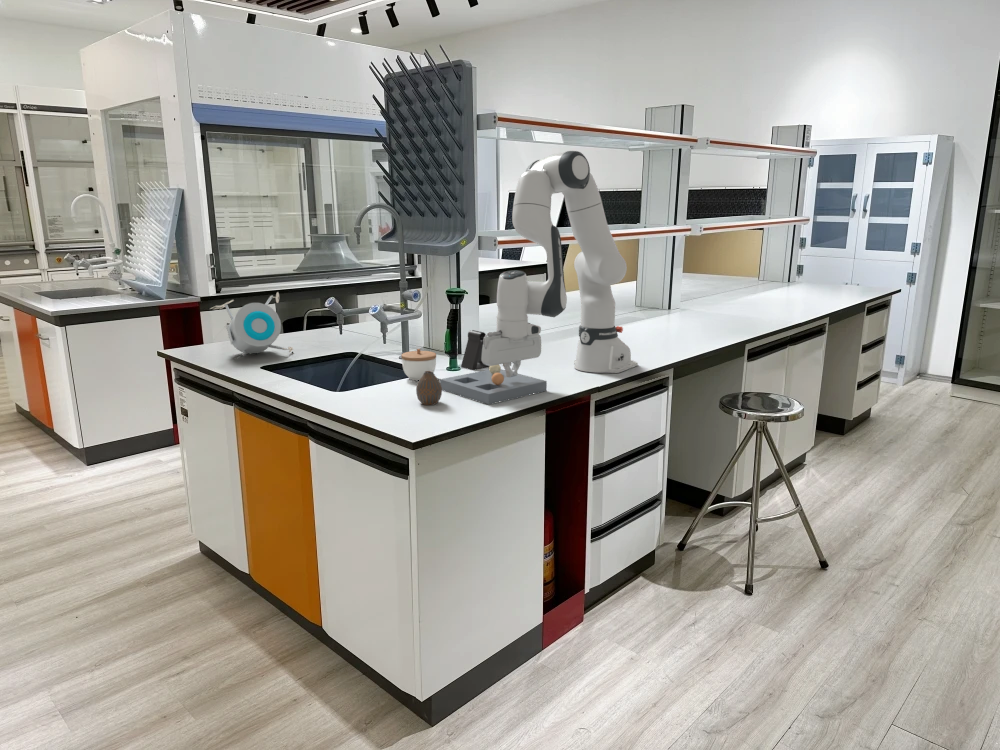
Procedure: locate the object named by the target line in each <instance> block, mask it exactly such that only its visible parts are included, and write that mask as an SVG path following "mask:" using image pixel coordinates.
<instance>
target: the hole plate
mask: <svg viewBox="0 0 1000 750" xmlns="http://www.w3.org/2000/svg"><path fill="white" fill-rule="evenodd" d="M499 373H501V374H502V375H503V377H504V381H503V383H502V384H500V385H495V384H494V383H493V382H492V376H493V374H491V373H490V371H489V369H486V370H480V371H476V372H475V371H474V372H471V373H465V374H460V375H454V376H450V377H445V378H440V379H439V381H440V384H441V387H442V391H444V390H445V392H447V391H448V393H450V392H451V394H454V393H455V394H454V395H457V394H458V395H457V396H460V395H461V396H460V397H463V396H464V397H463V398H466V397H467V398H466V399H469V398H471V399H470V400H472V399H474V400H473V401H475V400H477V401H476V402H478V401H480V402H479V403H481V402H483V403H482V404H484V403H487V404H490V405H493V404H492V403H494V404H496V403H495V402H498V403H500V402H499V401H503V402H505V401H504V400H507V401H509V400H508V399H511V400H513V399H512V398H515V399H518V398H517V397H519V398H522V397H521V396H524V397H526V396H525V395H528V396H530V395H529V394H532V395H534V394H533V393H536V394H539V393H538V392H541V393H544V392H543V391H545V392H547V387H548V386H547V384H548V383H547V382H548V381H547V380H543V379H540V378H536V377H532V376H529V375H525V374H520V373H518V372H517V376H514V377H506V371H505V369H503V368H502V369H501V371H500V372H499ZM487 404H486V405H487Z"/></svg>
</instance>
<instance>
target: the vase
mask: <svg viewBox="0 0 1000 750" xmlns="http://www.w3.org/2000/svg"><path fill="white" fill-rule="evenodd" d="M415 391H416V396H417V400H418V401H419V403H420V404H422V405H424V404H425V405H424V406H432V405H433V404H434V405H436V404H438V403H439V401H440V400H441V398H442V394H443V393H442V392H443V390H442V387H441V384H440V379H439V378H438V377H437V376H436V375H435V372H434V373H433V372H432V371H425V372H424V374H423V376H422V377H421V379H420V380H419V381H418V382H417V384H416V389H415ZM434 405H433V406H434Z"/></svg>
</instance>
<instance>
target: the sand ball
mask: <svg viewBox="0 0 1000 750" xmlns="http://www.w3.org/2000/svg"><path fill="white" fill-rule="evenodd" d="M488 370H489V371H490V373H491V374H495V373H499V372H500V371H501V364H499V365H493V366H490V367H488Z"/></svg>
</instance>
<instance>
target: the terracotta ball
mask: <svg viewBox="0 0 1000 750" xmlns="http://www.w3.org/2000/svg"><path fill="white" fill-rule="evenodd" d="M503 381H504V377H503V375H502V374H501V373H495V374H493V376H492V382H493V383H494V384H495V385H500V384H502V383H503Z"/></svg>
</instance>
